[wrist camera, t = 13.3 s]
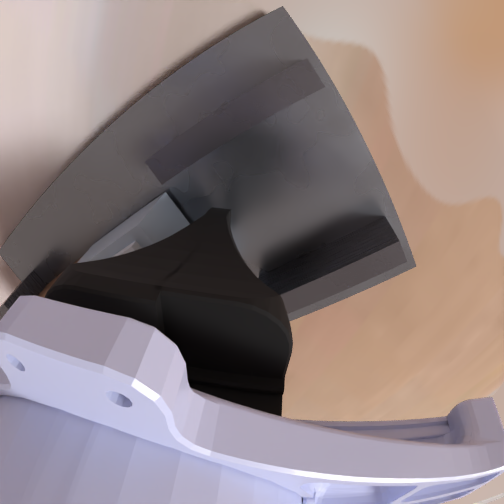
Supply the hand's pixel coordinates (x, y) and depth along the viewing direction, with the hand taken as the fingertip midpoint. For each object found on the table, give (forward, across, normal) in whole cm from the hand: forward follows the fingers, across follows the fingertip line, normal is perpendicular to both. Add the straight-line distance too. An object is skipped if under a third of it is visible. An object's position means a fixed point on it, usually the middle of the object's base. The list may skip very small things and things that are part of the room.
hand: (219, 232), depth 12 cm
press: (+2, +3, +2) cm, 4 cm away
